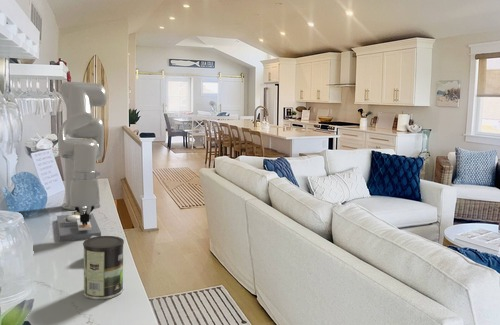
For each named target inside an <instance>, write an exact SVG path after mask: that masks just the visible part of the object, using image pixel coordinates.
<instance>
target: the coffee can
mask: <svg viewBox="0 0 500 325" xmlns="http://www.w3.org/2000/svg"><path fill="white" fill-rule="evenodd" d="M124 244H125V240H124V239H123V238H121V237H119V236H114V235H101V236H98V237H93V238H89V239H84V241H83V242H82V246H83V292H82V293H83V296H85V297H86V298H87V299H91V300H98V301H99V300H108V299H111V298H112V299H113V298H116V297H118V296H119V295H121V294H122V292H123V291H124V285H123V284H124Z"/></svg>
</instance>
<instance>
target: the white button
mask: <svg viewBox="0 0 500 325" xmlns="http://www.w3.org/2000/svg"><path fill="white" fill-rule="evenodd" d="M68 215H69V216H67V221H69V222H74V221H77V220H80V215H72V214H68Z"/></svg>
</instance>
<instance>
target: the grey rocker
mask: <svg viewBox="0 0 500 325" xmlns="http://www.w3.org/2000/svg"><path fill="white" fill-rule="evenodd" d="M77 225H78V230H79V231H80V230H92V227H91V224H90V220H89V222H87V225H83V224H82V222H80V220H77Z"/></svg>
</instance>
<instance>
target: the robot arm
mask: <svg viewBox="0 0 500 325" xmlns="http://www.w3.org/2000/svg"><path fill="white" fill-rule="evenodd" d="M59 88H60V95H61V97H62V99H63V102H64V104H65V107H66V119H65V121H64V122H62V124H61V126H59V127H60V128H59V129H58V133H57V147H58V149H57V150H58V155H59V156H60V157H61V158H63V159H64V168H65V170H64V171H65V173H64V177H65V179H64V182H65V183H64V184H65V187H64V189H65V191H64V192H65V196H64V197H65V198H64V199H65V202H64V203H62V204H61V208H62V209H63V210H68V211H70V210H71V211H77V212H78V213H80V222H82V224H83V225H87V222H89V214H92V212H93V211H94V210H96V209H100V208H101V203H100V201H101V200H100V199H101V197H100V186H99V185H100V184H99V180H98V177H99V176H101V172H100V171H97V161H100V160H102V159H103V157H104V151H105V150H104V145H105V144H104V143H105V126H104V122H103V120H102V119H101V118H99V117H94V115H93V107H99V108H100V107H101V108H103V107H105V106H106V104H107V102H108V95H107V90H106V88H105V87H104V86H103V84H101V83H96V82H95V83H94V82H82V81H64V82H62V83H61V84H60V87H59ZM67 135H68V137H70V138H67ZM85 209H86V210H85ZM84 211H85V214H84Z"/></svg>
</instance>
